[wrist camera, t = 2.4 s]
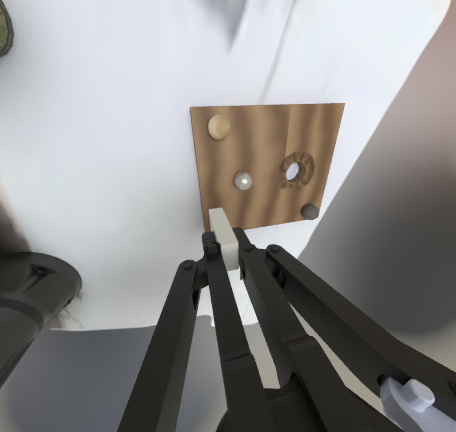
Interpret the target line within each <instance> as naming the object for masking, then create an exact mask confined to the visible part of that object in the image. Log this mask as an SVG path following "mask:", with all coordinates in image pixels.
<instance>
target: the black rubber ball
mask: <svg viewBox="0 0 456 432" xmlns="http://www.w3.org/2000/svg"><path fill="white" fill-rule="evenodd" d="M302 215H303V217H304V218H305V219H308V220H314V219H316V218H317V217H318V215H319V209H318V208H317V207H316V206H314V205H307V206H305V207H304V208H303V210H302Z"/></svg>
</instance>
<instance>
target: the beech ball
mask: <svg viewBox="0 0 456 432" xmlns="http://www.w3.org/2000/svg"><path fill="white" fill-rule="evenodd" d="M208 130H209V133H210V135H211V136H212V137H213V138H214V139H217V140H222V139H225V138H226V137H227V136H228V135H229V133H230V123H229V121H228V119H227V118H226V117H225V116H223V115H215V116H213V117H212V118H211V119H210V121H209V124H208Z"/></svg>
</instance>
